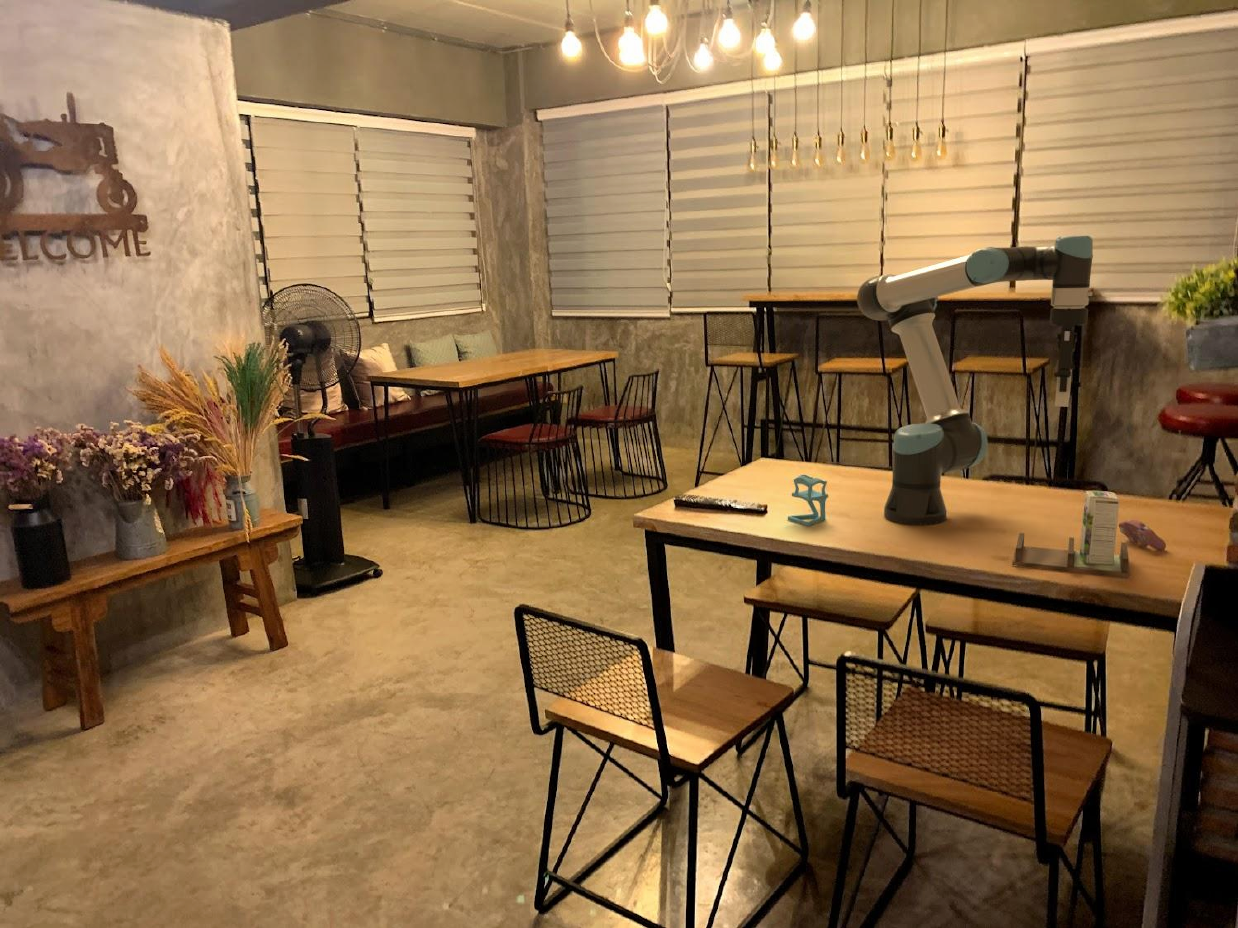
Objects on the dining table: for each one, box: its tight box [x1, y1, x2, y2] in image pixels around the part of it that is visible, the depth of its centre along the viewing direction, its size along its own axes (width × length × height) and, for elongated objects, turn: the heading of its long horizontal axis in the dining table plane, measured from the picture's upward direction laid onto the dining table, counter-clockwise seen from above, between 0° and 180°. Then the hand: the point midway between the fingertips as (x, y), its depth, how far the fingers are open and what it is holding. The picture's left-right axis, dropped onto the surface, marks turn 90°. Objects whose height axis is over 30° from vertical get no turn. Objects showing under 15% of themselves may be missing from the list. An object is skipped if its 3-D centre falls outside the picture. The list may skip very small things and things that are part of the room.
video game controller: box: [1118, 518, 1167, 552], centre depth 205 cm, size 10×5×7 cm, turn 6°
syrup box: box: [1079, 490, 1121, 565], centre depth 191 cm, size 6×6×14 cm
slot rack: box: [1011, 532, 1131, 579], centre depth 195 cm, size 22×12×4 cm, turn 63°
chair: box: [787, 474, 829, 527], centre depth 232 cm, size 8×8×12 cm
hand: (1062, 402), depth 208 cm, fingers open, 13 cm apart
